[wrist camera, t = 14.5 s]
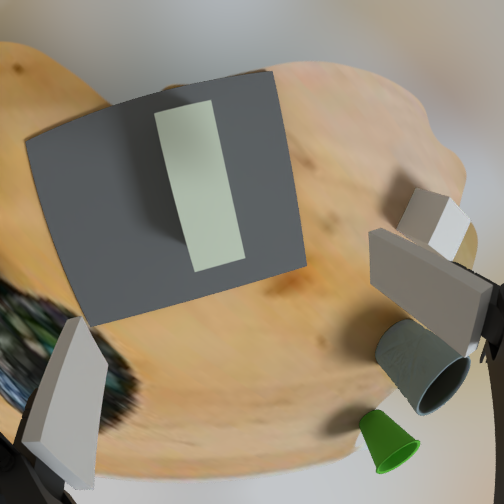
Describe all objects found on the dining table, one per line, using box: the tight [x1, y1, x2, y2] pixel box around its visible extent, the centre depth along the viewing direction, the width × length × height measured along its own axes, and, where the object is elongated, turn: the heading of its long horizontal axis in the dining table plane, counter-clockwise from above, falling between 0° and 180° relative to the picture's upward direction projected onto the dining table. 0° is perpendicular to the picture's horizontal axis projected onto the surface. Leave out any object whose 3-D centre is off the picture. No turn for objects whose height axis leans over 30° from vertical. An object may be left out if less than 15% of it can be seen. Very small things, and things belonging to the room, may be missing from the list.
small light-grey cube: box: [396, 188, 471, 261], centre depth 33 cm, size 6×6×6 cm
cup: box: [359, 410, 420, 474], centre depth 43 cm, size 9×9×11 cm
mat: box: [26, 71, 307, 327], centre depth 27 cm, size 24×20×1 cm
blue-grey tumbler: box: [375, 319, 471, 416], centre depth 36 cm, size 10×10×12 cm
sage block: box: [154, 100, 245, 272], centre depth 24 cm, size 4×6×12 cm
